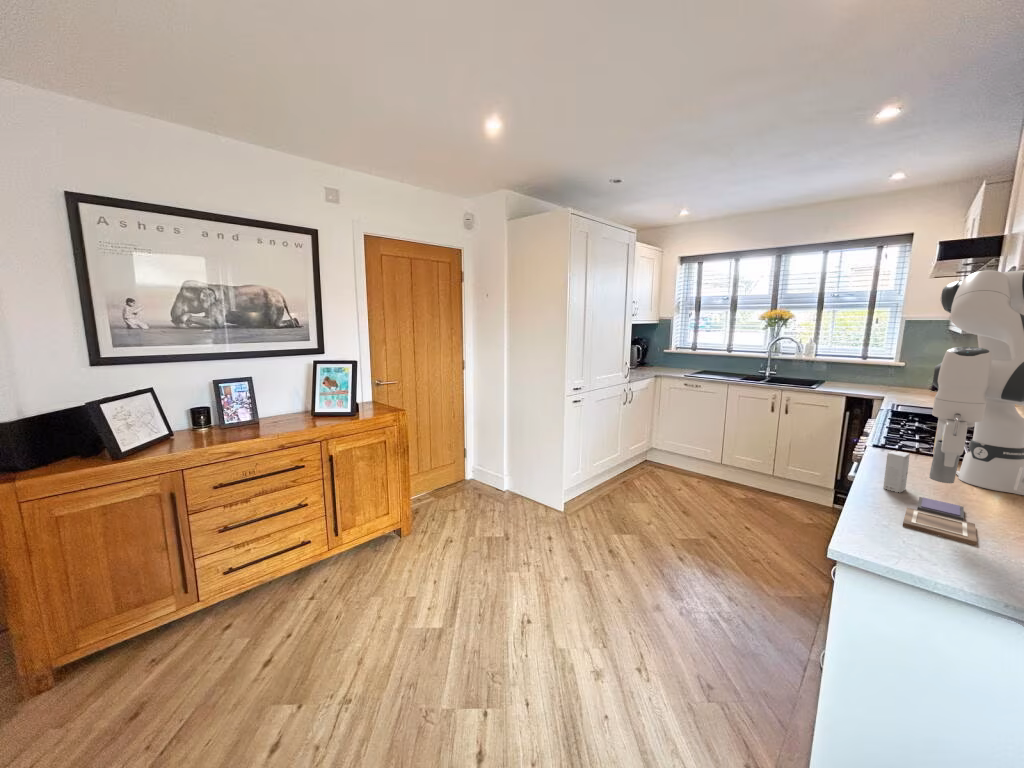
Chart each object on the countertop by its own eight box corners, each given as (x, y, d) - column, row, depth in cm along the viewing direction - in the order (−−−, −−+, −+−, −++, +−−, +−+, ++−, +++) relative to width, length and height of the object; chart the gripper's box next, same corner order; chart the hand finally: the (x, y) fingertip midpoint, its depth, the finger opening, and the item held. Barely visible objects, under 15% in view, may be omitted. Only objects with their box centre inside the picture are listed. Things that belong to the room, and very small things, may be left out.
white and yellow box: (959, 459, 159) (965, 422, 157) (943, 459, 160) (949, 422, 157) (943, 454, 165) (949, 419, 163) (928, 454, 166) (933, 419, 163)
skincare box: (900, 493, 128) (905, 456, 126) (881, 488, 132) (887, 453, 130) (906, 489, 132) (911, 453, 130) (888, 484, 135) (893, 449, 134)
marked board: (906, 510, 117) (907, 506, 116) (974, 527, 107) (975, 523, 107) (902, 526, 108) (903, 521, 108) (976, 545, 98) (976, 541, 98)
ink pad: (918, 500, 123) (919, 495, 123) (962, 510, 117) (963, 505, 116) (916, 510, 116) (917, 506, 116) (963, 522, 110) (964, 516, 110)
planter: (927, 479, 107) (935, 442, 105) (930, 475, 109) (937, 438, 108) (953, 485, 103) (961, 446, 101) (954, 480, 106) (963, 443, 104)
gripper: (978, 420, 94) (967, 477, 96) (975, 407, 107) (966, 457, 109) (938, 415, 98) (929, 470, 100) (940, 403, 112) (932, 452, 114)
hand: (948, 463), depth 105 cm, fingers closed on planter, 4 cm apart
